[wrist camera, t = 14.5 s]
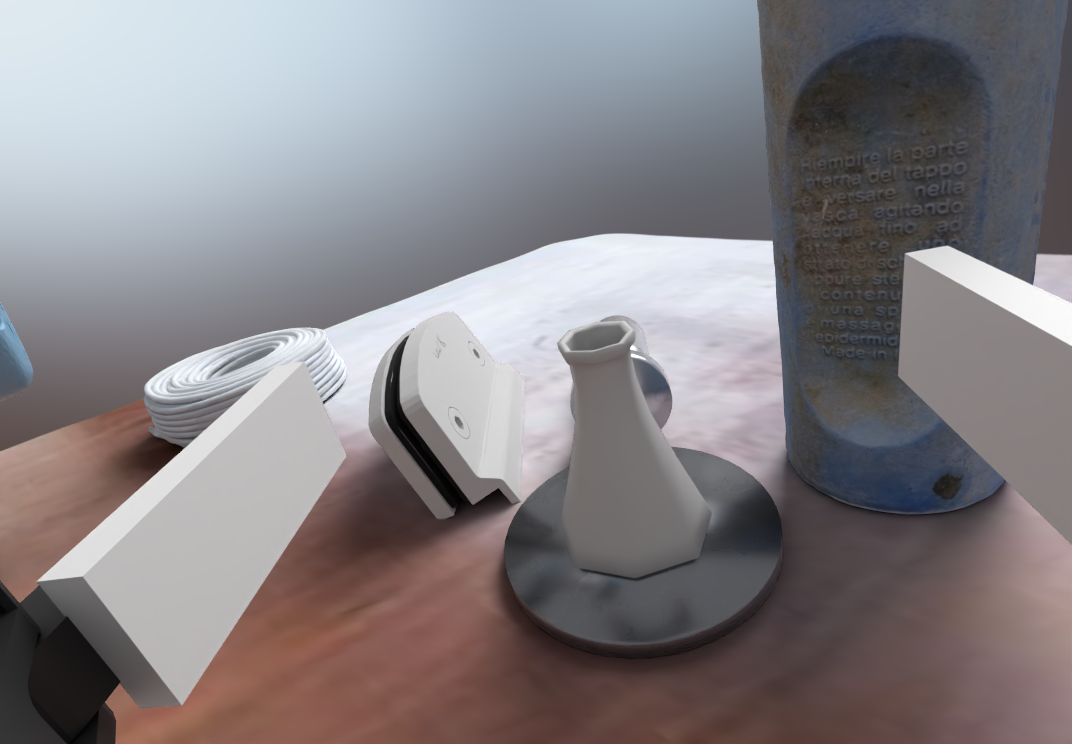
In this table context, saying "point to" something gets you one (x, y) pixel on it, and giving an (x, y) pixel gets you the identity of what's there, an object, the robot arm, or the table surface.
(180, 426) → the cable
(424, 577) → the table surface
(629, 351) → the flask
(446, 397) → the white flat angled piece
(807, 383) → the bottle
